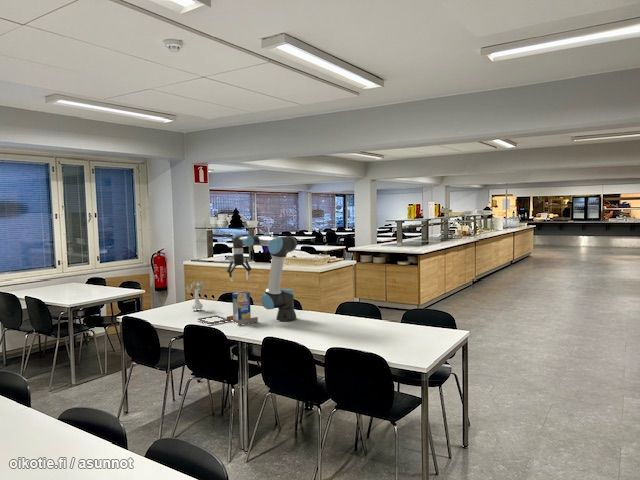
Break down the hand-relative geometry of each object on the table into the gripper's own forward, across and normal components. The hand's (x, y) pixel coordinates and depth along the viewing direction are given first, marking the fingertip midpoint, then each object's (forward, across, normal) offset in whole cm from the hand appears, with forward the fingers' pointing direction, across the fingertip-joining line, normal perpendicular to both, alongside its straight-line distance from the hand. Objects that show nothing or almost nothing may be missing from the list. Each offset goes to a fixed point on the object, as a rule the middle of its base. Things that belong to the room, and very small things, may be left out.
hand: (239, 280), depth 365 cm
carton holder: (+29, +9, +19) cm, 36 cm away
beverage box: (+29, +9, +19) cm, 36 cm away
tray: (+28, +24, +1) cm, 38 cm away
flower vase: (+28, +18, -48) cm, 58 cm away
